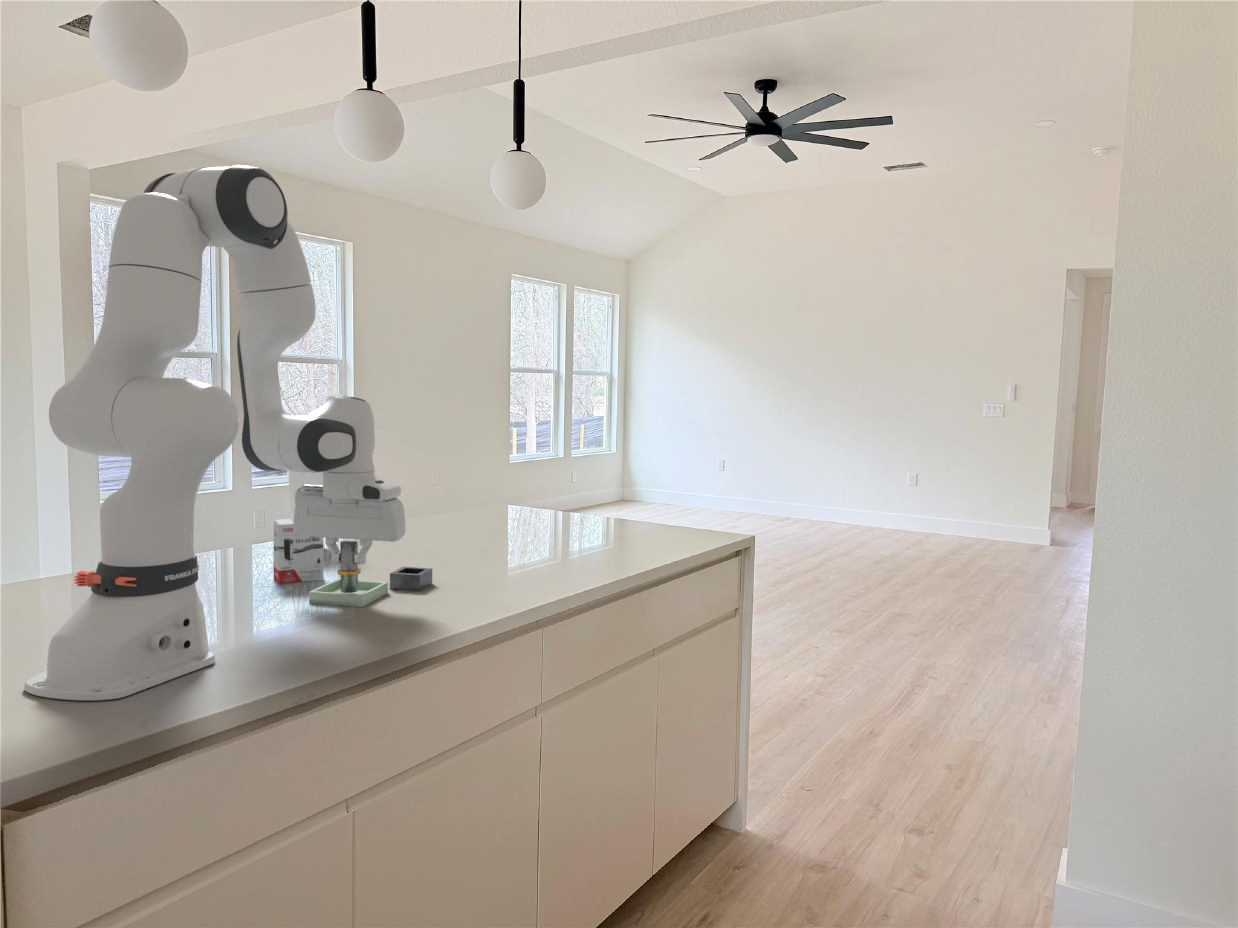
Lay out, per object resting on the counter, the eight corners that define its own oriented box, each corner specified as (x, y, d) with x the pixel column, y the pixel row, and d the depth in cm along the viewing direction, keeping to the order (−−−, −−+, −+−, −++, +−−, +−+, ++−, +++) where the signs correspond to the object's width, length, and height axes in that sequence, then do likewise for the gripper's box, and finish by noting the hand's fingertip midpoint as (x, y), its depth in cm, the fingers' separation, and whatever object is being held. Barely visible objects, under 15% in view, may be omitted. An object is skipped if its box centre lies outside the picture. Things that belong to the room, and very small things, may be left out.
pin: (354, 594, 146) (353, 544, 145) (333, 592, 147) (333, 543, 146) (364, 588, 150) (364, 540, 149) (344, 587, 151) (344, 539, 150)
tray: (362, 606, 143) (362, 595, 143) (309, 602, 145) (309, 591, 144) (387, 592, 153) (387, 582, 152) (337, 589, 154) (337, 578, 154)
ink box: (278, 584, 157) (277, 523, 156) (273, 579, 161) (272, 519, 160) (324, 579, 161) (324, 520, 160) (318, 574, 165) (318, 516, 164)
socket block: (419, 590, 155) (419, 575, 154) (389, 588, 156) (389, 573, 155) (432, 583, 161) (432, 568, 160) (403, 581, 162) (403, 566, 161)
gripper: (285, 485, 145) (286, 562, 147) (394, 491, 142) (393, 570, 143) (305, 482, 151) (305, 555, 153) (409, 487, 148) (409, 562, 149)
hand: (349, 562), depth 148 cm, fingers closed on pin, 3 cm apart
